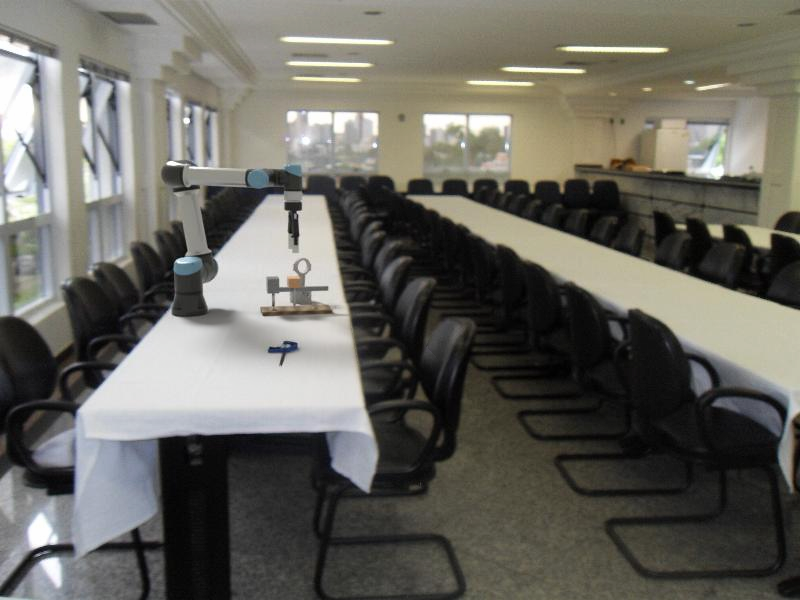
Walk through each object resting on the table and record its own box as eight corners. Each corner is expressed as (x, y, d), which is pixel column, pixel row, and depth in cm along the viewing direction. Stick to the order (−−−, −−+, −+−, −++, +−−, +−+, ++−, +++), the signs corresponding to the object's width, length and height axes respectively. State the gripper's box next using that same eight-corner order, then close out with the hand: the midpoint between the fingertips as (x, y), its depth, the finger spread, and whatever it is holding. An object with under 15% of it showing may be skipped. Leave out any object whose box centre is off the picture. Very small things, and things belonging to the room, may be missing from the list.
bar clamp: (270, 340, 287) (298, 340, 288) (270, 346, 288) (298, 346, 288) (260, 368, 256) (292, 367, 256) (260, 375, 256) (292, 375, 257)
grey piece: (267, 310, 341) (267, 279, 339) (266, 307, 348) (266, 276, 345) (329, 308, 348) (329, 277, 345) (326, 305, 354) (326, 275, 352)
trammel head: (288, 308, 343) (288, 278, 341) (287, 305, 350) (286, 276, 348) (300, 308, 344) (300, 278, 342) (298, 305, 351) (298, 275, 349)
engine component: (285, 301, 371) (297, 304, 364) (285, 257, 368) (296, 260, 360) (305, 298, 378) (317, 301, 371) (305, 255, 374) (317, 258, 367)
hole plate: (262, 315, 339) (262, 311, 338) (260, 310, 350) (260, 306, 350) (332, 313, 346) (332, 309, 345) (328, 307, 357) (328, 304, 357)
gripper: (306, 203, 328) (306, 254, 332) (298, 199, 352) (298, 247, 356) (287, 203, 327) (288, 254, 331) (281, 199, 350) (281, 247, 354)
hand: (293, 250), depth 343 cm, fingers open, 13 cm apart
